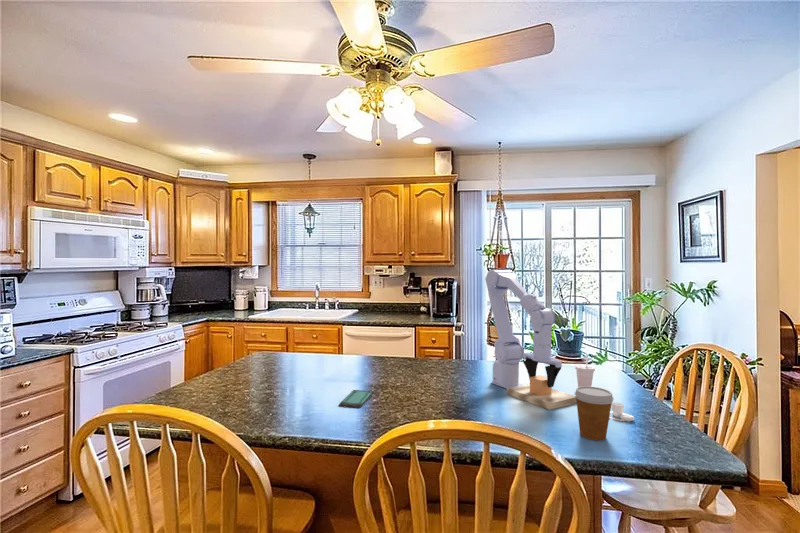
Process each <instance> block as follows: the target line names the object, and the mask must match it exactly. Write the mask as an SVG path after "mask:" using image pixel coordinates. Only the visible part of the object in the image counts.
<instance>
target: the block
mask: <svg viewBox="0 0 800 533" xmlns="http://www.w3.org/2000/svg"><path fill="white" fill-rule="evenodd" d="M529 384H530V392H532V393H535V394H538V395H541V396H542V395H547V394H551V392H552V389H553V387H548V385H547V376H543V375H540V374H539V375H536V376H533V377H530V379H529Z"/></svg>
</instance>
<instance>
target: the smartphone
mask: <svg viewBox="0 0 800 533" xmlns="http://www.w3.org/2000/svg"><path fill="white" fill-rule="evenodd" d="M373 395H374V392H373V391H370V390H359V389H352V391H351V392H350V393H349V394H347V395H346V396H345V398H344V399H342V401H340V402H339V407H342V408H351V409H353V408H354V409H361V408H362V407H363V406H364V405H365V404H366V403H367V402H368V401H369V400H370V399H371V397H372V396H373Z"/></svg>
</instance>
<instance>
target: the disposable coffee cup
mask: <svg viewBox="0 0 800 533" xmlns="http://www.w3.org/2000/svg"><path fill="white" fill-rule="evenodd" d="M574 396H575V397H576V401H577V403H576V409H577V416H578V417H577V419H578V428H579V434H580V435H581V437H583V438H585V439H588V440H592V441H604V440H606V439H607V432H608V428H609V421H610V418H609V416H610V417H611V413H610V411H612V408H611V404H612V403H614V400H615V399H614V397H613V393H612V392H611V391H610V390H608V389H605V388H602V387H596V386H591V387H590V386H582V387H578V386H577V387H576V389H575V392H574Z"/></svg>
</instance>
